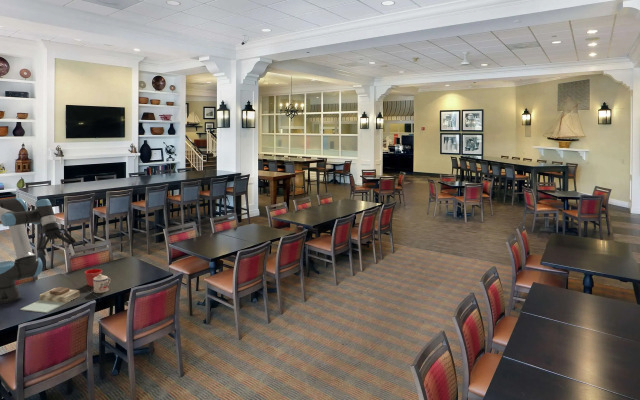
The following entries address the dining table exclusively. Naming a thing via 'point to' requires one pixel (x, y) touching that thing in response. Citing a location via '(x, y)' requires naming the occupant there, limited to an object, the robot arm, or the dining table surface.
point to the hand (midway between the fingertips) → (60, 257)
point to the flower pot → (92, 275)
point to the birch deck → (60, 296)
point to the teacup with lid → (101, 283)
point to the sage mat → (43, 306)
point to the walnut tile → (59, 291)
